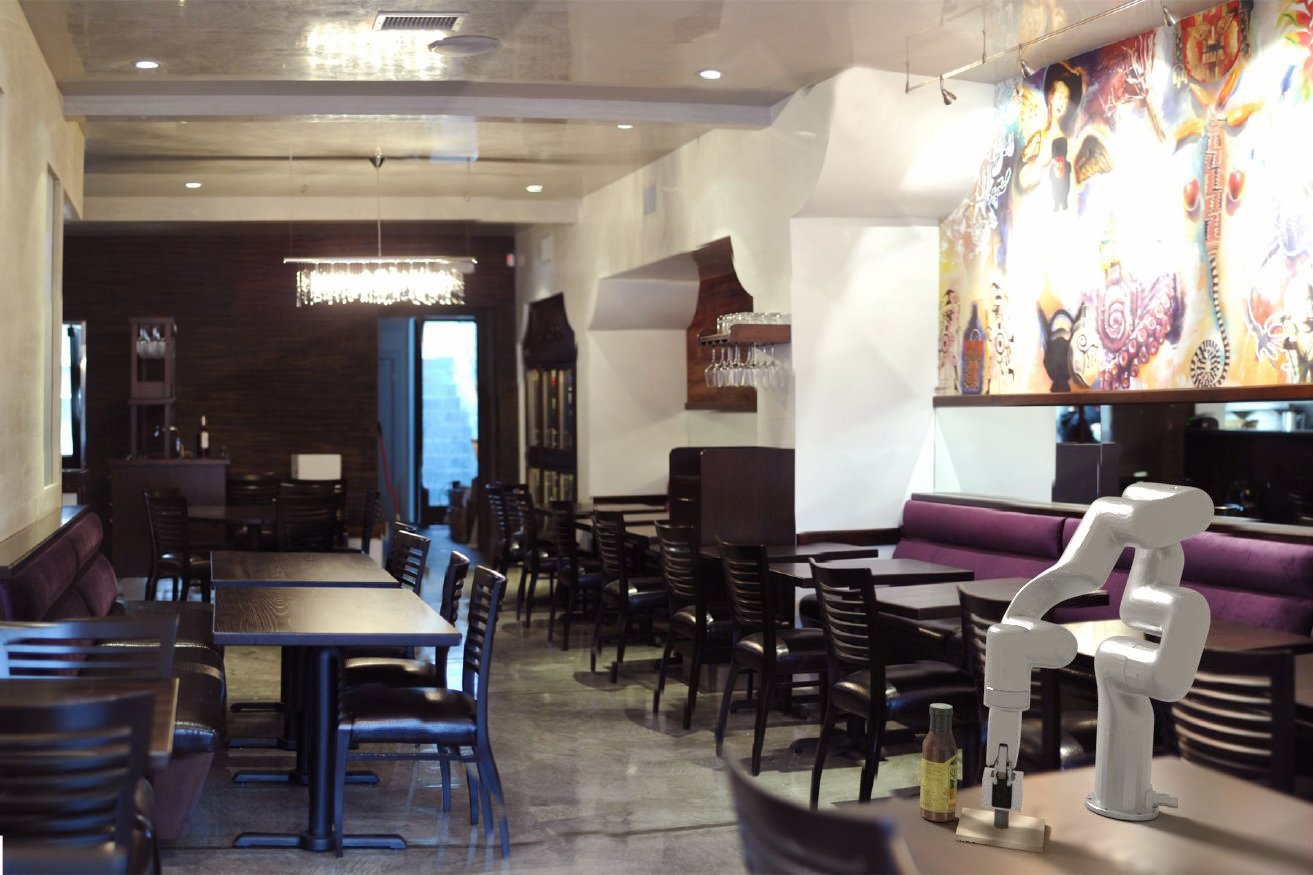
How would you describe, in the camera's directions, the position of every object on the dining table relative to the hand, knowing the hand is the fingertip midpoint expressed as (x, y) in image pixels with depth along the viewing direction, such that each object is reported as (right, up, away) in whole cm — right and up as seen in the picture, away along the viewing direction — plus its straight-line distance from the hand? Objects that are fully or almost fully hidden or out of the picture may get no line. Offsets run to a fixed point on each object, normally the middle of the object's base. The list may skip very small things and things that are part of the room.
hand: (1002, 799), depth 206 cm
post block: (0, -6, 0) cm, 6 cm away
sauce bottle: (-10, -5, +7) cm, 13 cm away
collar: (0, -1, 0) cm, 1 cm away
